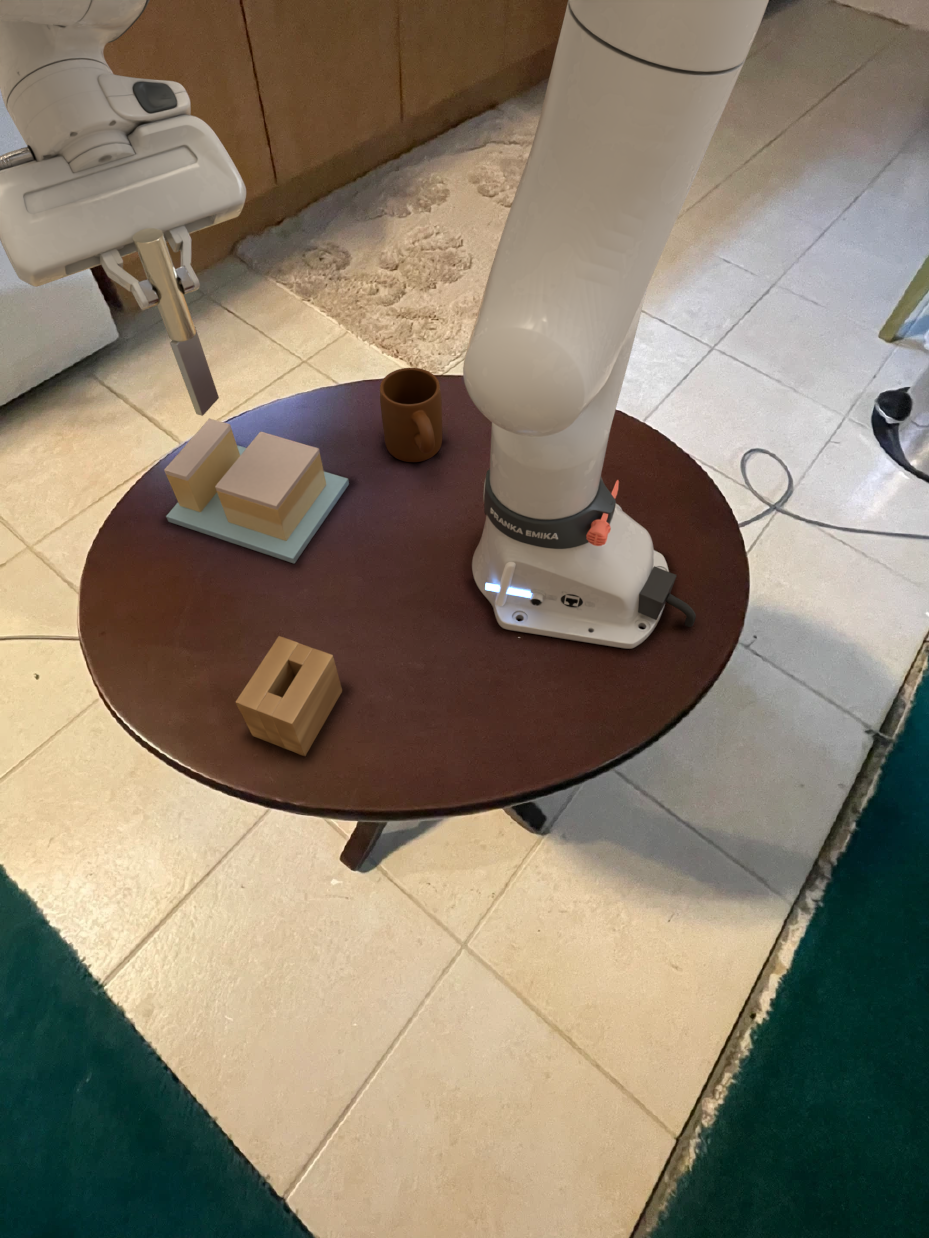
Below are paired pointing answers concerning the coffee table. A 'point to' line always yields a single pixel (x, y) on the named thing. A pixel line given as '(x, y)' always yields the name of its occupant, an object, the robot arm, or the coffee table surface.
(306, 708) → the knife block
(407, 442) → the mug
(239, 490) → the cake
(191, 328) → the knife
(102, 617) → the coffee table surface
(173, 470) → the cake slice
